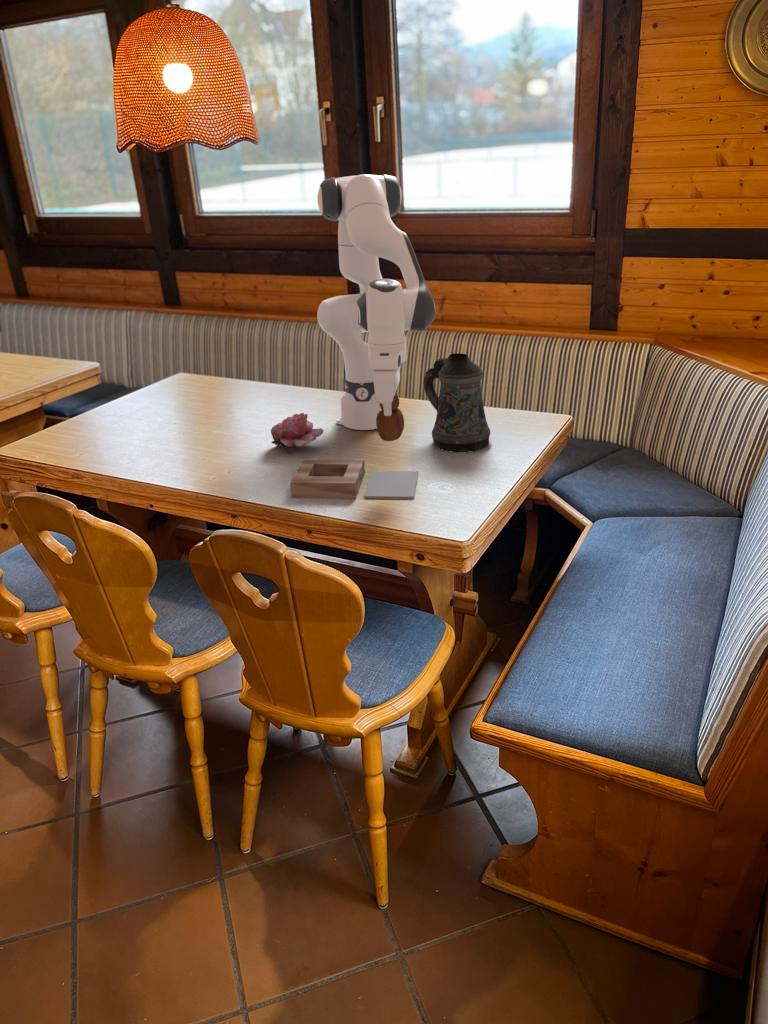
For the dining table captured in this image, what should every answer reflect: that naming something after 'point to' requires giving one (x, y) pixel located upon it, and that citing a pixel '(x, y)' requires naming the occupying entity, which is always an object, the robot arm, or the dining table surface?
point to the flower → (294, 431)
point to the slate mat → (392, 485)
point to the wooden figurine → (390, 422)
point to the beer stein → (457, 404)
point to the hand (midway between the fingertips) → (389, 410)
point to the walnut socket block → (328, 478)
